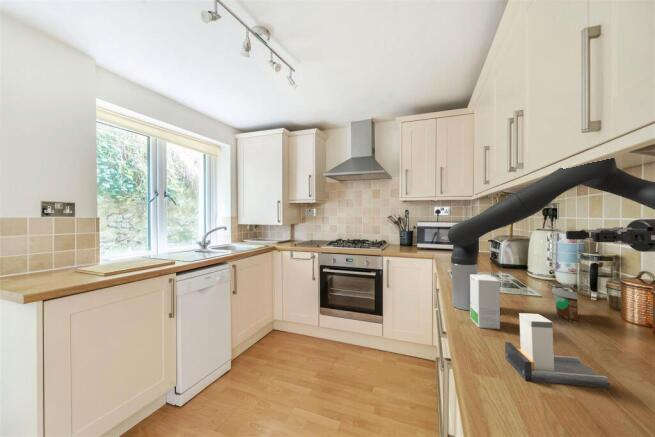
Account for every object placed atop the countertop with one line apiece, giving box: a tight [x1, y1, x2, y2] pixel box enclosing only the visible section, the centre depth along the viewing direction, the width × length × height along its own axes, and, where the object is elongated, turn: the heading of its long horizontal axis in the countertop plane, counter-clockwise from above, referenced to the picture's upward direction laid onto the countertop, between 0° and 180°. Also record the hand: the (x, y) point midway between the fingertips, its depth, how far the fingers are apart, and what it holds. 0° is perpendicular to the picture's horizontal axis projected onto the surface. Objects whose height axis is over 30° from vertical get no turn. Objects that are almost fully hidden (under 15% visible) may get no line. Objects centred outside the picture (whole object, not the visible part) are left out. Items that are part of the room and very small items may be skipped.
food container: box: [551, 284, 579, 323], centre depth 90 cm, size 12×6×10 cm, turn 141°
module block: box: [518, 312, 555, 372], centre depth 58 cm, size 5×4×11 cm
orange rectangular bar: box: [517, 348, 534, 370], centre depth 59 cm, size 6×1×2 cm, turn 168°
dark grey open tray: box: [504, 341, 611, 389], centre depth 58 cm, size 9×15×4 cm, turn 78°
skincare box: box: [469, 274, 501, 330], centre depth 85 cm, size 8×7×16 cm
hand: (579, 236), depth 62 cm, fingers open, 8 cm apart
